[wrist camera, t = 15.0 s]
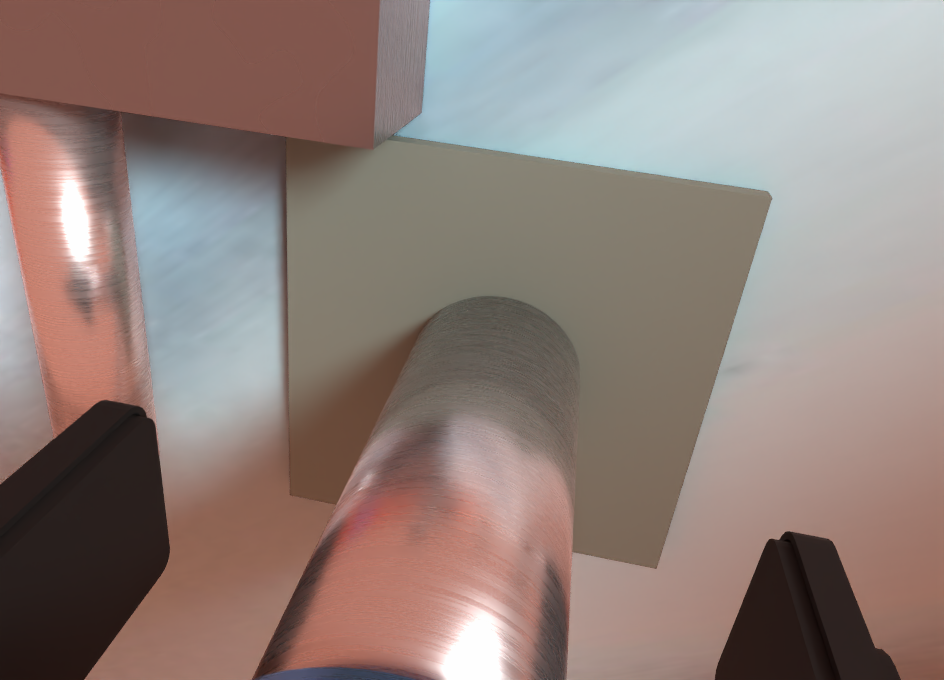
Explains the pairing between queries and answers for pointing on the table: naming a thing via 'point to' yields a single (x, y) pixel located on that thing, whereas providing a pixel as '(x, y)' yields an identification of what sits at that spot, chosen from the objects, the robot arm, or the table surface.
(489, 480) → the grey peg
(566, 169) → the mat
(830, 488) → the table surface
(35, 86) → the block
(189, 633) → the table surface
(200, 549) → the table surface
